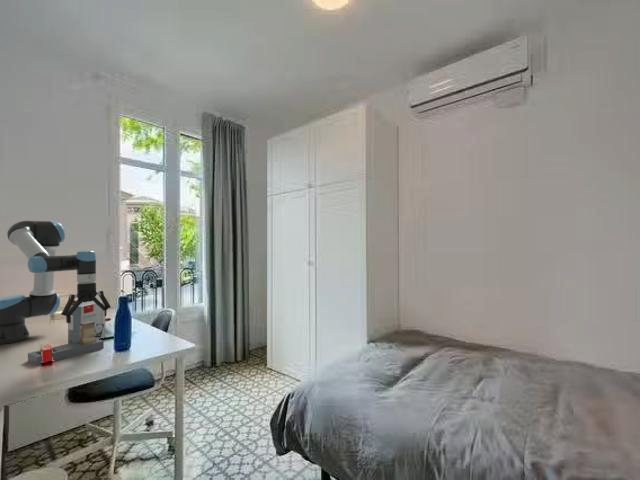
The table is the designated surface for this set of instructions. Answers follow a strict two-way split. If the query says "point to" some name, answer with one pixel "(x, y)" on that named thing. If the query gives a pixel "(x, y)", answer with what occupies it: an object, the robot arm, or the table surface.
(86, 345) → the socket strip
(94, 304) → the hard drive box
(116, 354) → the table surface
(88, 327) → the plug
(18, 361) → the table surface
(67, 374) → the table surface
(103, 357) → the table surface
